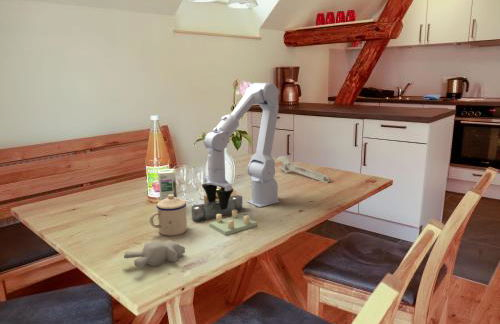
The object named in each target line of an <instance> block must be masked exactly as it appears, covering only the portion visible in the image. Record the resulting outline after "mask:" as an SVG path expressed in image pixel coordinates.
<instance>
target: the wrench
mask: <svg viewBox="0 0 500 324" xmlns="http://www.w3.org/2000/svg"><path fill="white" fill-rule="evenodd" d="M276 161H281V163H282V165H281V166H278V170H280V171H281V172H283V173H284V174H285V175H288V174H290V172H295V173H298V174H300V175H303V176H305V177H309V178H311V179H314V180H316V181H319V182H321V183H326V184H327V183H330V182H331V176H329V175H327V174H323V173H321V172H318V171H314V170H311V169H308V168H306V167H302V166H300V165H296V164H295V163H294V162H293V161H291V159H289V158H288V157H287V156H285V155H280V156H278V157H277V158H276ZM326 178H327V180H326Z"/></svg>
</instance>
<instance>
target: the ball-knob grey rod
mask: <svg viewBox="0 0 500 324" xmlns="http://www.w3.org/2000/svg"><path fill="white" fill-rule="evenodd" d="M243 205H244V204H243V196H242V195H237V194H236V195H231V197H230V198H229V201H228V206H227V209H224V210H221V208H220V202H219V200H217V201H213V202H208V203H204V202H203V203H200V204H195V205H191V220H192V222H193V223H202V222H205V221H206V220H210V219H213V218H216V214H222V216H225V215H228V214H232V210H237V213H238V212H241V211H243Z"/></svg>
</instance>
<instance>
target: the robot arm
mask: <svg viewBox="0 0 500 324" xmlns="http://www.w3.org/2000/svg"><path fill="white" fill-rule="evenodd" d="M279 94H280V89H279V88H278V87H277V86H276V85H275V83H273V82H251V83H250V84H249V86H248V87H247V88H246V89H245V93H244V94H243V96H242V97H241V99H240V100H239V102H238V103H237V105H236V106H235V107H234V109H233V110H232V111H231V113H230V114H226V115H223V116H222V117H221V118H220V119H221V120H220V121H219V123H218V124H217V125H216V126H215V127H214V128H213V129H212V131H210V132H208V133H207V134H206V135H205V138H204V140H203V145H204V147H205V148H206V153H207V154H206V155H207V174H208V175H205V176H203V182H204V183H203V184H201V187H202V188H203V191H204V192H205V194H206V195H207V198H208V201H209V202H213V201H215V200H216V192H217V194H218V197H219V202H220V208H221V210H224V209H227V206H228V201H229V198H230V196H232V194H233V192H234V189H233V188H232V184H231V183H229V181H227V179H226V155H225V149H226V148H228V145H229V140H230V137H231V136H232V135H233V134H234V133H235V131H236V130H237V129H238V127H239V126H240V119H242V118H243V117H244V116H245V114H246V113H247V112H248V111H249V110H250V109H251V107H252V106H254V105H258V106H259V107H260V108H261V109H262V112H261V113H262V114H261V115H262V116H261V118H260V119H261V121H260V124H259V125H260V126H259V131H258V136H257V137H258V139H257V144H256V150H255V153H254V154H252V156H250V160H249V163H248V165H247V168H246V171H247V174H248V176H250V180H251V182H250V183H251V199H248V200H246V203H249V204H251V205H253V206H255V207H258V208H262V207H263V208H264V207H266V206H269V205H273V204H277V203H279V202H280V200H279V198H278V197H279V195H278V193H279V191H278V190H279V189H278V182H277V180H276V179H275V175H276V167H275V164H276V162H275V160H274V157H273V156H272V150H273V144H274V138H275V134H276V133H275V131H276V127H277V121H278V115H279V114H278V113H279V106H280V105H279V100H278V99H279ZM217 188H221V189H219V190H217ZM206 195H205V196H206Z"/></svg>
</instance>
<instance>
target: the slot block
mask: <svg viewBox="0 0 500 324" xmlns="http://www.w3.org/2000/svg"><path fill="white" fill-rule="evenodd" d="M231 196H232V195H231ZM231 196H230V197H231ZM217 200H219V199H216V200H215V201H217ZM208 202H209V201H208V198H207V195H204V196H203V204H204V203H208Z"/></svg>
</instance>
